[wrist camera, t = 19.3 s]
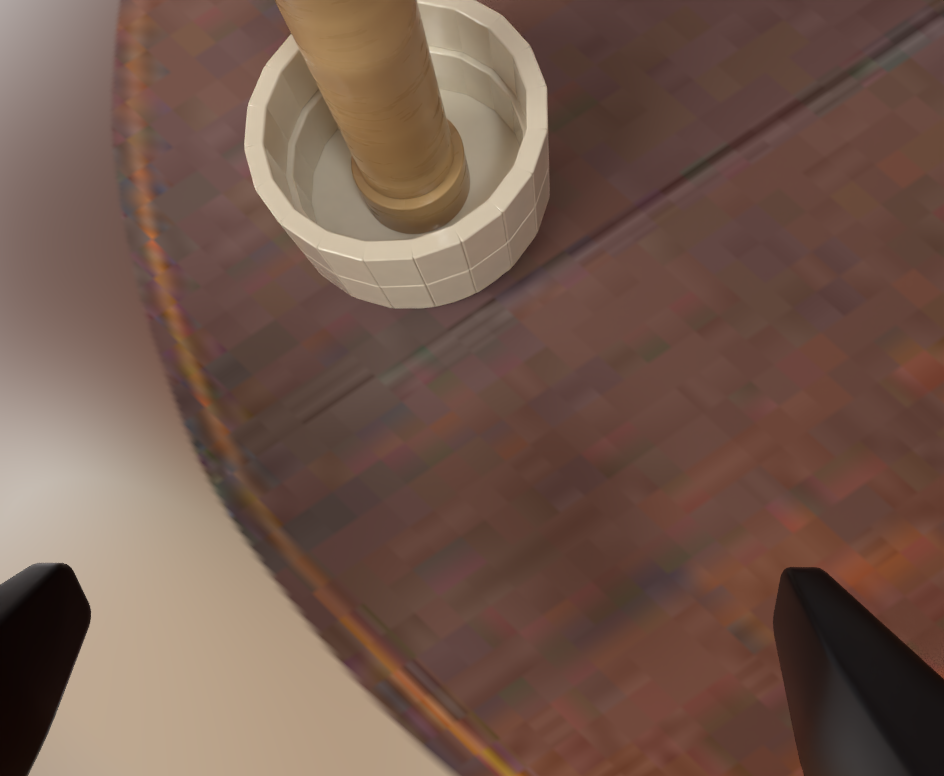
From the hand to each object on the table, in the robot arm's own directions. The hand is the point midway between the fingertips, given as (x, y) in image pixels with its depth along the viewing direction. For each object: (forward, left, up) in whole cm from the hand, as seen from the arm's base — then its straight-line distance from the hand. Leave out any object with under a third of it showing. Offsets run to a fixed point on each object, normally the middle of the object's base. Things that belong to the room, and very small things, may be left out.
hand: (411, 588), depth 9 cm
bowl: (+9, +10, -14) cm, 19 cm away
